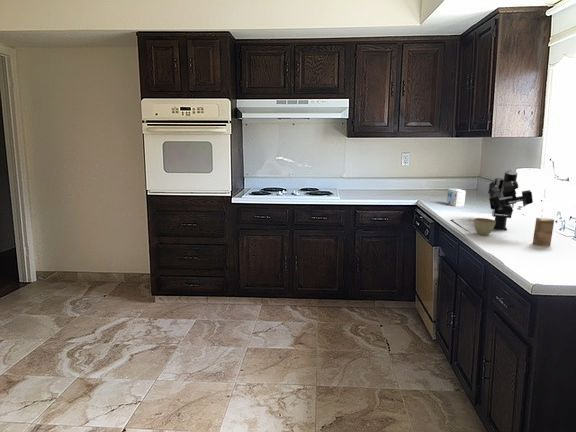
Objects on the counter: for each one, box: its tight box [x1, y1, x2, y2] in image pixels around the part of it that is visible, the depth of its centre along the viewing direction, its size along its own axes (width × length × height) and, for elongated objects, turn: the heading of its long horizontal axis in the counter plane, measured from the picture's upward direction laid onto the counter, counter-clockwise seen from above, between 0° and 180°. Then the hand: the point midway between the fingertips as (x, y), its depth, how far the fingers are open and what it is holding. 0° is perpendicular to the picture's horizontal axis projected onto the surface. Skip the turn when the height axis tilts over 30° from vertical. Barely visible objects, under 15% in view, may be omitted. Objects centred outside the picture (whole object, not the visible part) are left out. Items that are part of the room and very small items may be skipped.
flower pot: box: [473, 217, 496, 236], centre depth 232 cm, size 10×10×7 cm
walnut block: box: [532, 217, 555, 247], centre depth 216 cm, size 4×6×12 cm, turn 98°
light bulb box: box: [446, 188, 467, 207], centre depth 319 cm, size 11×7×11 cm, turn 17°
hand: (513, 207), depth 222 cm, fingers open, 9 cm apart
